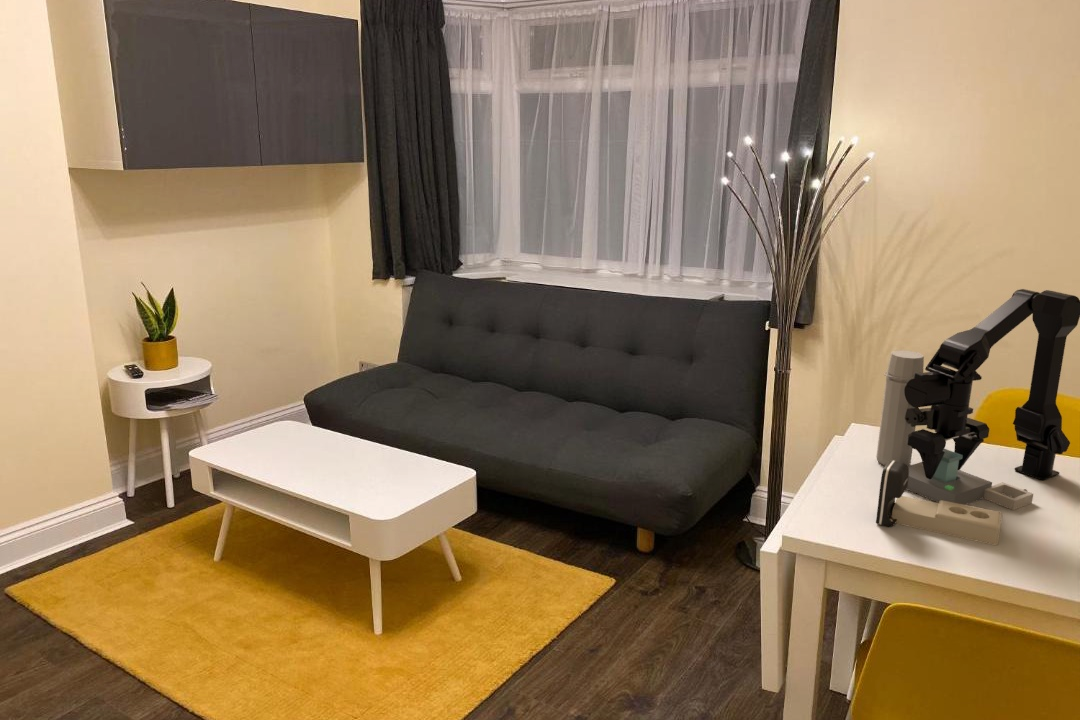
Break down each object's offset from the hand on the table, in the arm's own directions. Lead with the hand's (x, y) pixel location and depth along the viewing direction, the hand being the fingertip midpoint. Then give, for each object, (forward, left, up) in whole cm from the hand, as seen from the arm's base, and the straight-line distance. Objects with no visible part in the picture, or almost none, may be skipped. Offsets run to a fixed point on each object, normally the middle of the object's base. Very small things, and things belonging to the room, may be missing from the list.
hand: (942, 473), depth 177 cm
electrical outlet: (+14, +11, -4) cm, 18 cm away
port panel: (0, 0, -4) cm, 4 cm away
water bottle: (-4, -15, -4) cm, 16 cm away
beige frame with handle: (-9, +10, -3) cm, 14 cm away
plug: (0, 0, -4) cm, 4 cm away
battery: (+21, +4, -4) cm, 22 cm away
